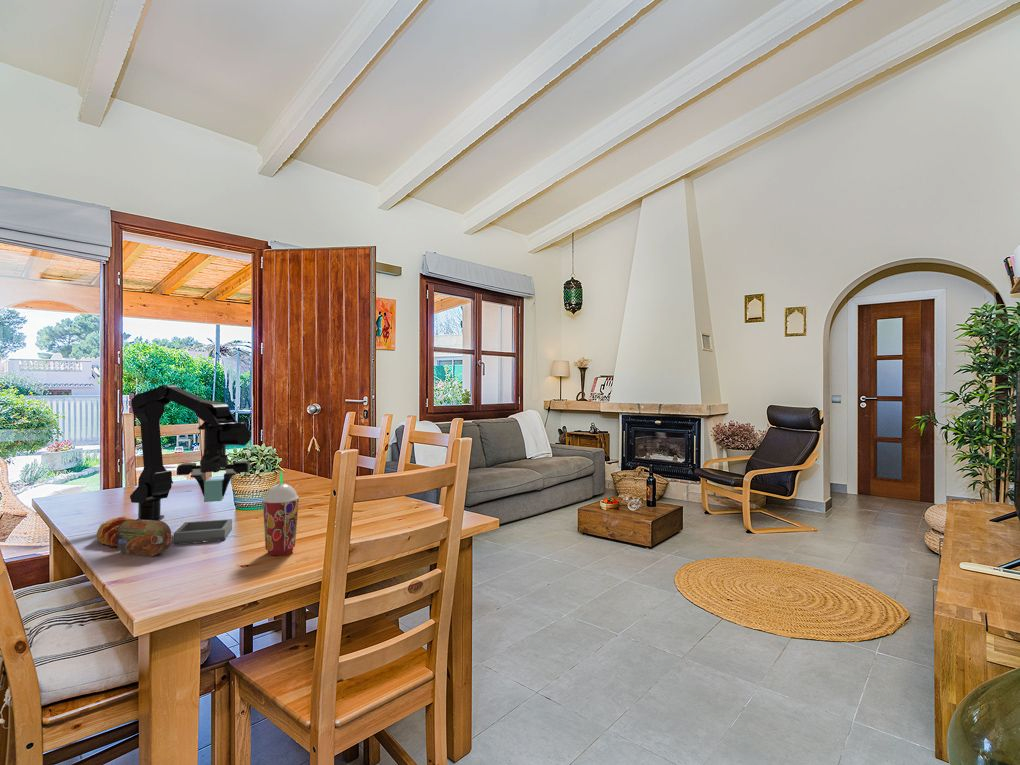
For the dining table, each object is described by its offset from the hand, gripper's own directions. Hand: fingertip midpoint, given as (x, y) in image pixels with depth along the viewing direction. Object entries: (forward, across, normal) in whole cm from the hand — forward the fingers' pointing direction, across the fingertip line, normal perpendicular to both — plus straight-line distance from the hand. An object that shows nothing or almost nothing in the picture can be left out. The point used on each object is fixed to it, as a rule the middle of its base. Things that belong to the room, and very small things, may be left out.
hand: (214, 496), depth 156 cm
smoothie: (+9, +21, -35) cm, 42 cm away
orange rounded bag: (+9, -11, -25) cm, 29 cm away
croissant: (+9, -21, -9) cm, 24 cm away
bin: (+9, 0, -13) cm, 16 cm away
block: (+1, 0, 0) cm, 1 cm away
